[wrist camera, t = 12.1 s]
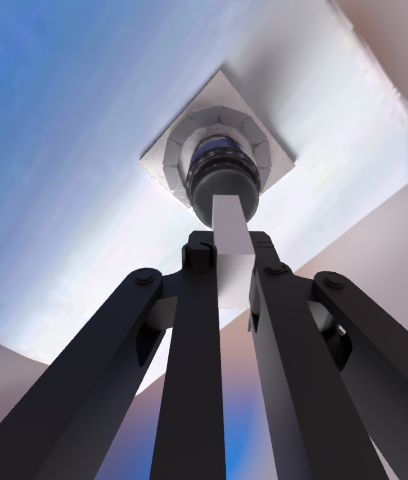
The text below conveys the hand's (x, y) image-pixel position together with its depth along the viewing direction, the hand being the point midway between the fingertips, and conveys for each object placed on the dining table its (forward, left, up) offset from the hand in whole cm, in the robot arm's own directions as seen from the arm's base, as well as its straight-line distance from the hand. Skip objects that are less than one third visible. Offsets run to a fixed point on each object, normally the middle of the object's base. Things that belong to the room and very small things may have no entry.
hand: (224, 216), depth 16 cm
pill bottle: (0, 0, -14) cm, 14 cm away
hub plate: (0, 0, -14) cm, 14 cm away
